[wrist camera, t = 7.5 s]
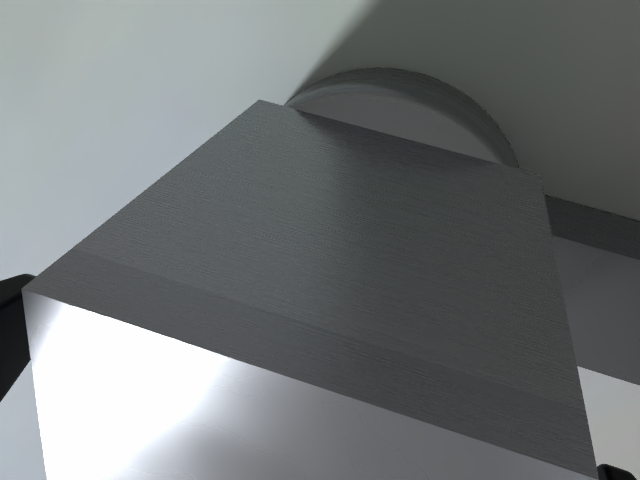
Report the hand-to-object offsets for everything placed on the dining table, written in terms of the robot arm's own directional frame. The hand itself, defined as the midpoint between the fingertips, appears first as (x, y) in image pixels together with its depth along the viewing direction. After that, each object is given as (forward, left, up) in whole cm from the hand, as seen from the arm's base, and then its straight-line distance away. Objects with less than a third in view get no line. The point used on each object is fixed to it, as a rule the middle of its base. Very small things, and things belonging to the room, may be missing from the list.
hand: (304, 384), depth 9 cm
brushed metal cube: (0, 0, -4) cm, 4 cm away
